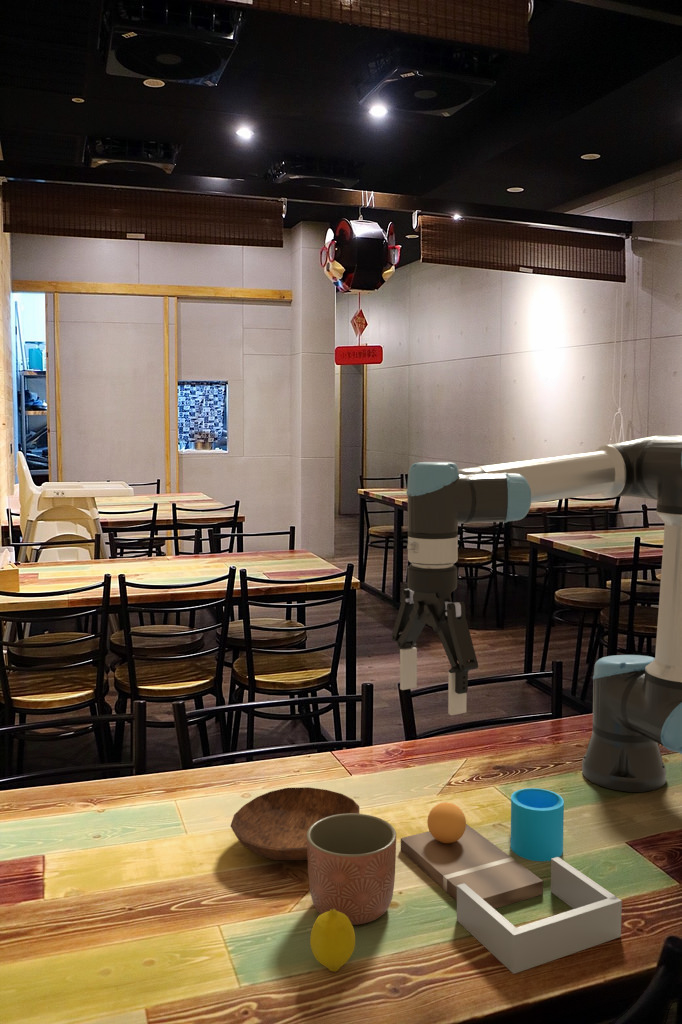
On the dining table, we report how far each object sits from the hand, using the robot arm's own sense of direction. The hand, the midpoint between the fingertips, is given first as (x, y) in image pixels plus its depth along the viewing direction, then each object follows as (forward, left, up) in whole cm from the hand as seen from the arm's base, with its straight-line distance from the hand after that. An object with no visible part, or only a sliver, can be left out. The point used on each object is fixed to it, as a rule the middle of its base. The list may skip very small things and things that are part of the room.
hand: (431, 700), depth 131 cm
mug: (-16, +4, -25) cm, 30 cm away
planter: (+18, +8, -25) cm, 32 cm away
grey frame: (-2, +23, -25) cm, 34 cm away
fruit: (+26, +19, -25) cm, 41 cm away
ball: (-2, +1, -20) cm, 20 cm away
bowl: (+18, -12, -25) cm, 33 cm away
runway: (-2, +7, -25) cm, 26 cm away
